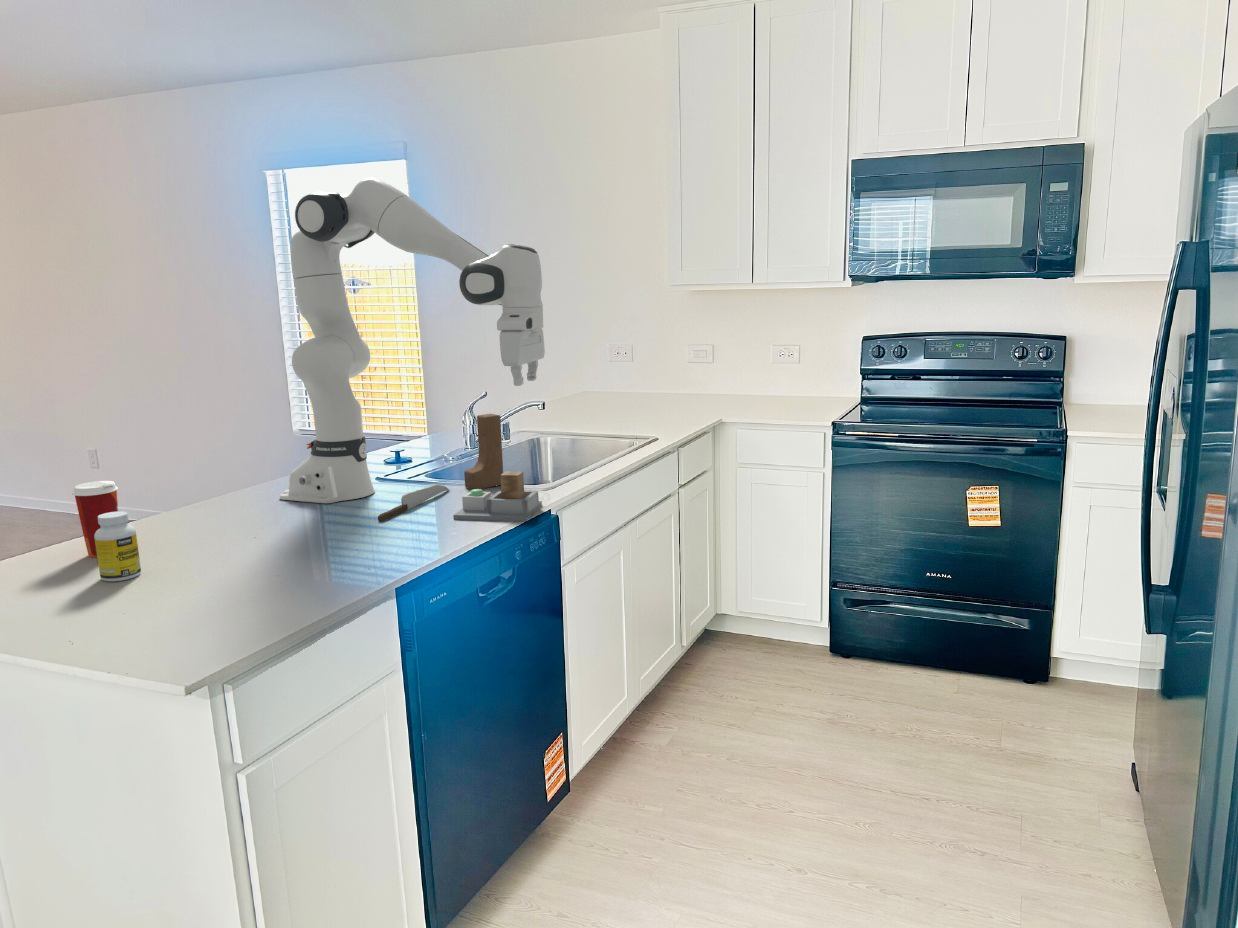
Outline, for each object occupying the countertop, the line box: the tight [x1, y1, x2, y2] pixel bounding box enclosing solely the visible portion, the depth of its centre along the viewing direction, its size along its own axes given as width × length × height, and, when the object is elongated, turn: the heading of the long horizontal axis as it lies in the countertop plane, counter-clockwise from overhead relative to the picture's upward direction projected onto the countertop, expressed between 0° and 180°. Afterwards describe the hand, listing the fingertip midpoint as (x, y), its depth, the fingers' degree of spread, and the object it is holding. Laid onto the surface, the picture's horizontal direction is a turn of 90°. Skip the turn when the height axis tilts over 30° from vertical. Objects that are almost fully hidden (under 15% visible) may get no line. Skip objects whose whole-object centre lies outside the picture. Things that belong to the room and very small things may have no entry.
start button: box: [470, 489, 484, 496], centre depth 196 cm, size 3×3×3 cm
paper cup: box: [72, 480, 119, 559], centre depth 170 cm, size 8×8×14 cm
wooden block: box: [463, 413, 504, 491], centre depth 219 cm, size 9×4×18 cm, turn 130°
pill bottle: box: [94, 510, 142, 583], centre depth 156 cm, size 6×6×12 cm
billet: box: [500, 470, 525, 499], centre depth 194 cm, size 4×4×8 cm
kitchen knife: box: [377, 484, 451, 522], centre depth 204 cm, size 4×1×30 cm
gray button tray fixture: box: [452, 489, 543, 523], centre depth 196 cm, size 16×14×4 cm
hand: (525, 383), depth 195 cm, fingers open, 8 cm apart
